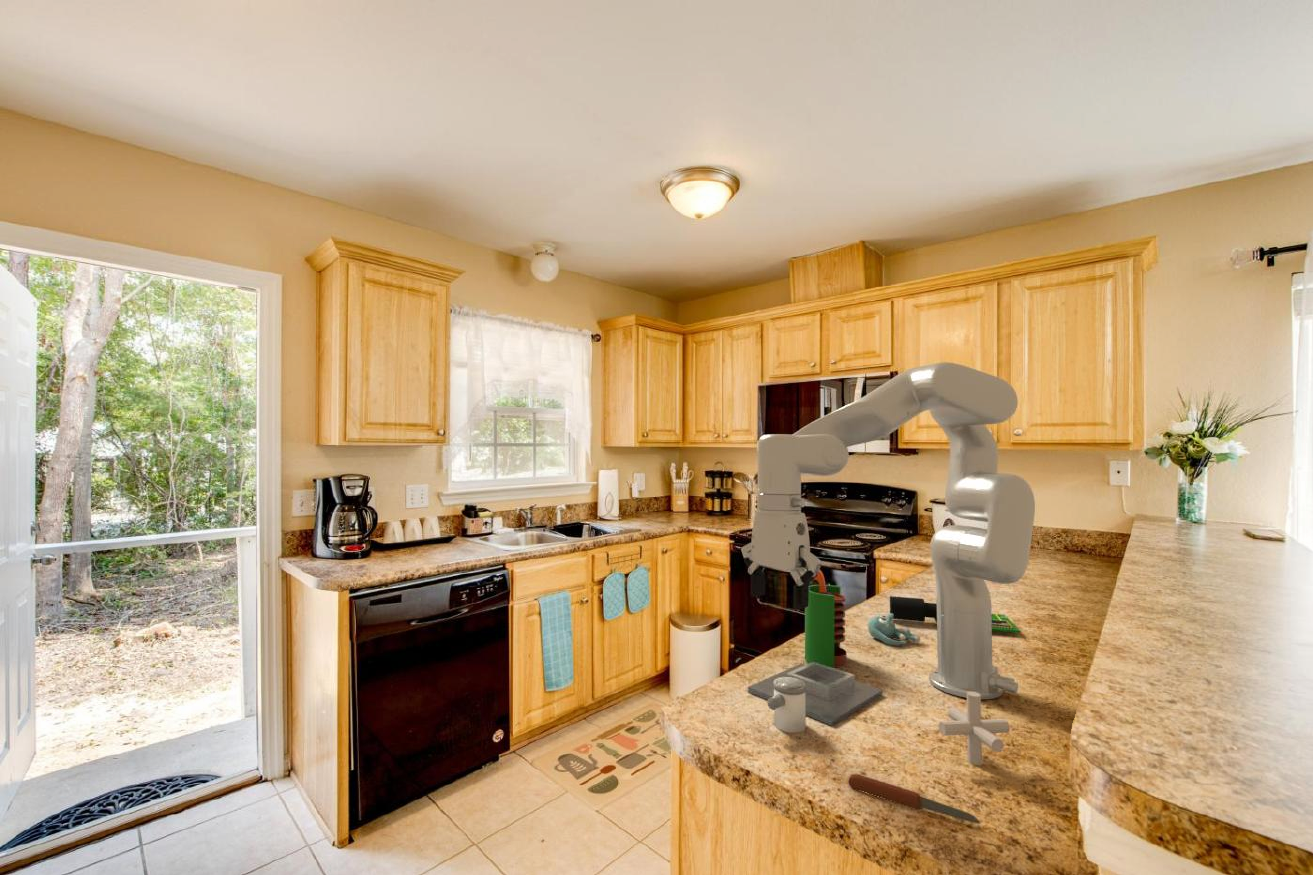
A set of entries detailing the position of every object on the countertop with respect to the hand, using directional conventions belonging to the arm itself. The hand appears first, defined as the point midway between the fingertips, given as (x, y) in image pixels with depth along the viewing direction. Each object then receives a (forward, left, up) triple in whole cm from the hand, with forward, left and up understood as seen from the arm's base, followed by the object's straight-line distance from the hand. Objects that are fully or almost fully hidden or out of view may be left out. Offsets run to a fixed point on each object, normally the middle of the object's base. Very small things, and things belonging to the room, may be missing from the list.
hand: (778, 601), depth 97 cm
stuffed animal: (+5, -54, -20) cm, 58 cm away
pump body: (-3, +2, -20) cm, 20 cm away
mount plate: (+1, -13, -20) cm, 24 cm away
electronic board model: (+2, -80, -20) cm, 83 cm away
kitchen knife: (-26, +7, -21) cm, 34 cm away
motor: (+9, -30, -20) cm, 37 cm away
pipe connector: (-28, -10, -20) cm, 36 cm away
